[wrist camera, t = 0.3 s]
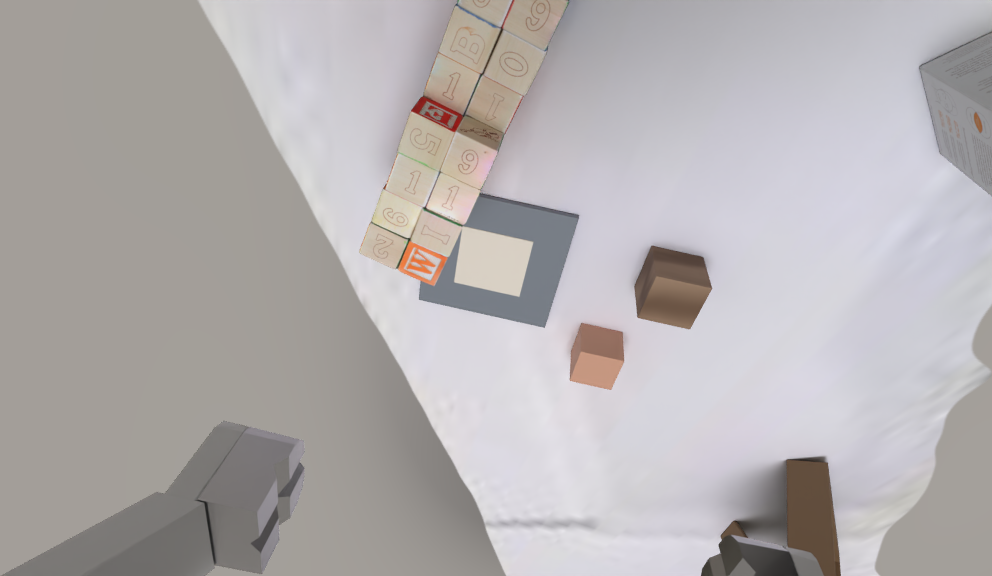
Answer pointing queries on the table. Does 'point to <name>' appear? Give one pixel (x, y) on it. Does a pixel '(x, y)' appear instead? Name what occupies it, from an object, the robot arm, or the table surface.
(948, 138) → the small box
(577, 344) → the terracotta block
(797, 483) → the photo frame
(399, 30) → the table surface
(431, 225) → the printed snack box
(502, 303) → the grey flat square plate
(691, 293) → the walnut block
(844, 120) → the table surface
